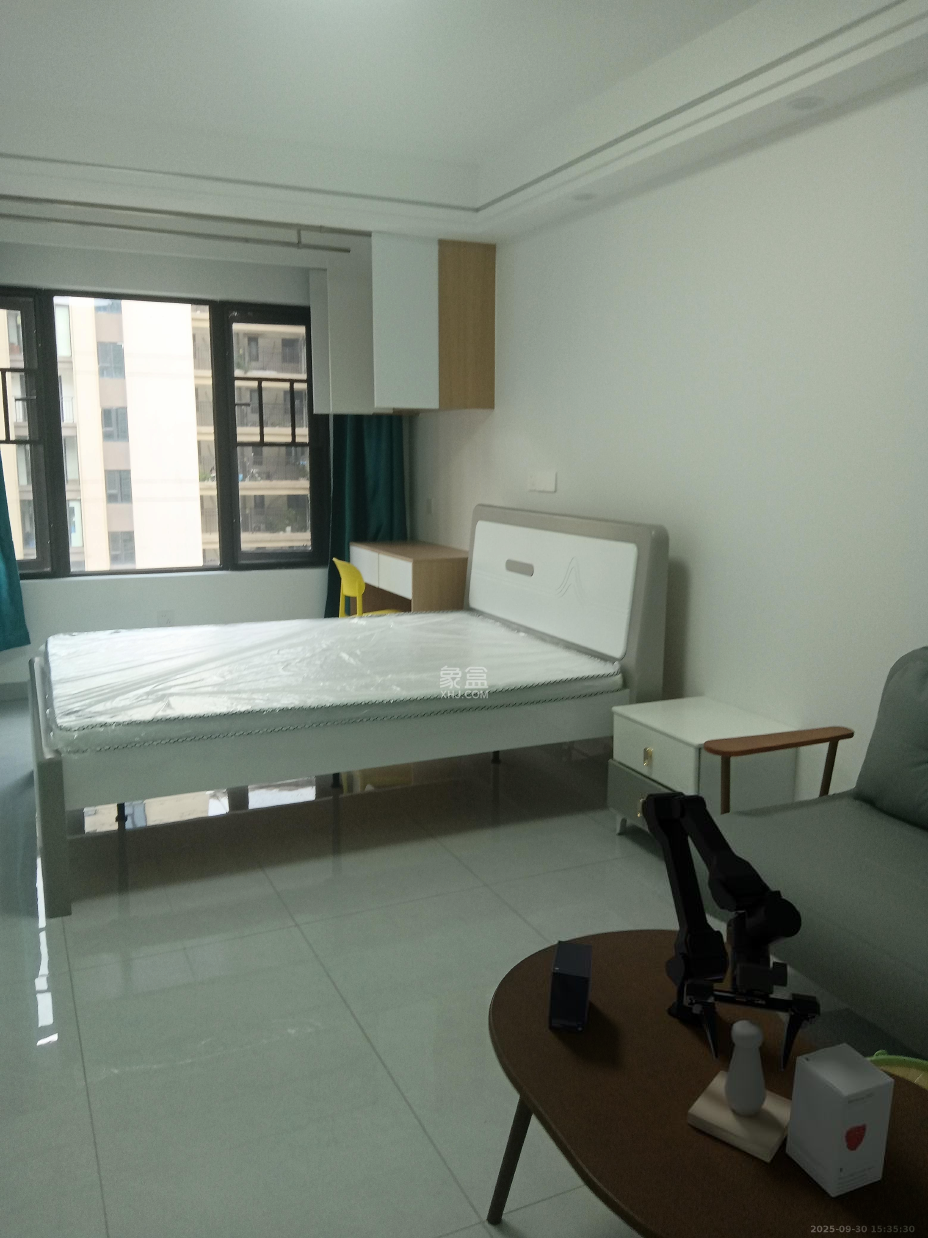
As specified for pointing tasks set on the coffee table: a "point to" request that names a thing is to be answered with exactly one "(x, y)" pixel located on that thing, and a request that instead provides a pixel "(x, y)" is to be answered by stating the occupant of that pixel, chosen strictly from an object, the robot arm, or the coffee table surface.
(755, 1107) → the salt shaker
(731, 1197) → the coffee table surface
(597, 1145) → the coffee table surface
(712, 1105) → the oak block
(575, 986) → the small box
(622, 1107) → the coffee table surface
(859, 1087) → the supplement box
